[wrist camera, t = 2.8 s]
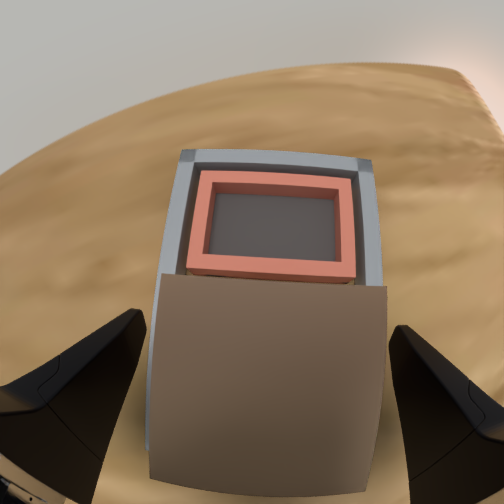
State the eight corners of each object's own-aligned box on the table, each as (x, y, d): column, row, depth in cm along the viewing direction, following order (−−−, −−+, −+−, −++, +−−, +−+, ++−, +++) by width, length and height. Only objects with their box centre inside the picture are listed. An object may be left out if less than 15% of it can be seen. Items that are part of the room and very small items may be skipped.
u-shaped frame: (356, 452, 13) (367, 464, 11) (157, 439, 14) (145, 449, 12) (362, 176, 18) (371, 160, 16) (188, 166, 19) (181, 149, 17)
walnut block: (302, 398, 14) (365, 491, 4) (222, 393, 15) (149, 478, 4) (307, 321, 16) (386, 286, 5) (228, 316, 16) (161, 273, 6)
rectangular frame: (346, 283, 16) (355, 277, 15) (193, 274, 17) (186, 267, 15) (343, 192, 18) (350, 178, 16) (206, 185, 19) (201, 170, 17)
